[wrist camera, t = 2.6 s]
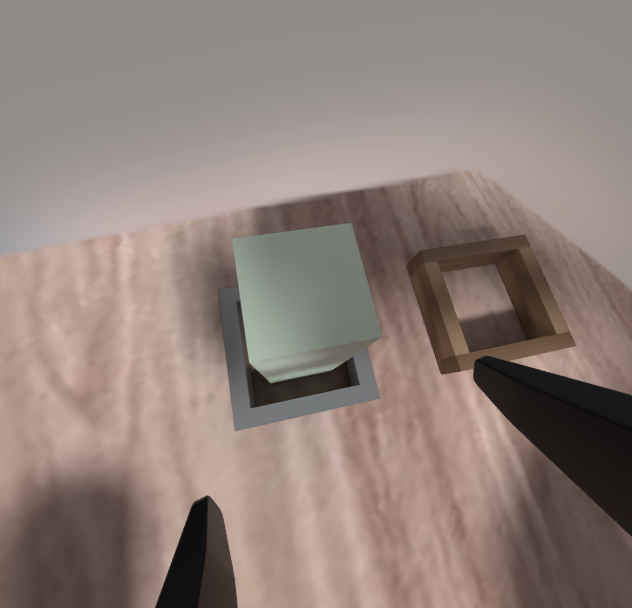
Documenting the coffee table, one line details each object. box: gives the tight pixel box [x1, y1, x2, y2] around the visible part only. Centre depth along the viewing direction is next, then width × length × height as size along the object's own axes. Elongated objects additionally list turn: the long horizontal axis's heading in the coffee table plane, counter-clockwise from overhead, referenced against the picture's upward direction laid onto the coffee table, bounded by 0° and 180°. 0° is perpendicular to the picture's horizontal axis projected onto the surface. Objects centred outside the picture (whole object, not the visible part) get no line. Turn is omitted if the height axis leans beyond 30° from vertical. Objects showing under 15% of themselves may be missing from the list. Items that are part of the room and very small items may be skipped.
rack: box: [407, 235, 576, 375], centre depth 22 cm, size 8×8×2 cm
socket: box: [218, 286, 380, 431], centre depth 19 cm, size 8×8×2 cm
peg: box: [232, 223, 383, 384], centre depth 15 cm, size 4×4×12 cm
